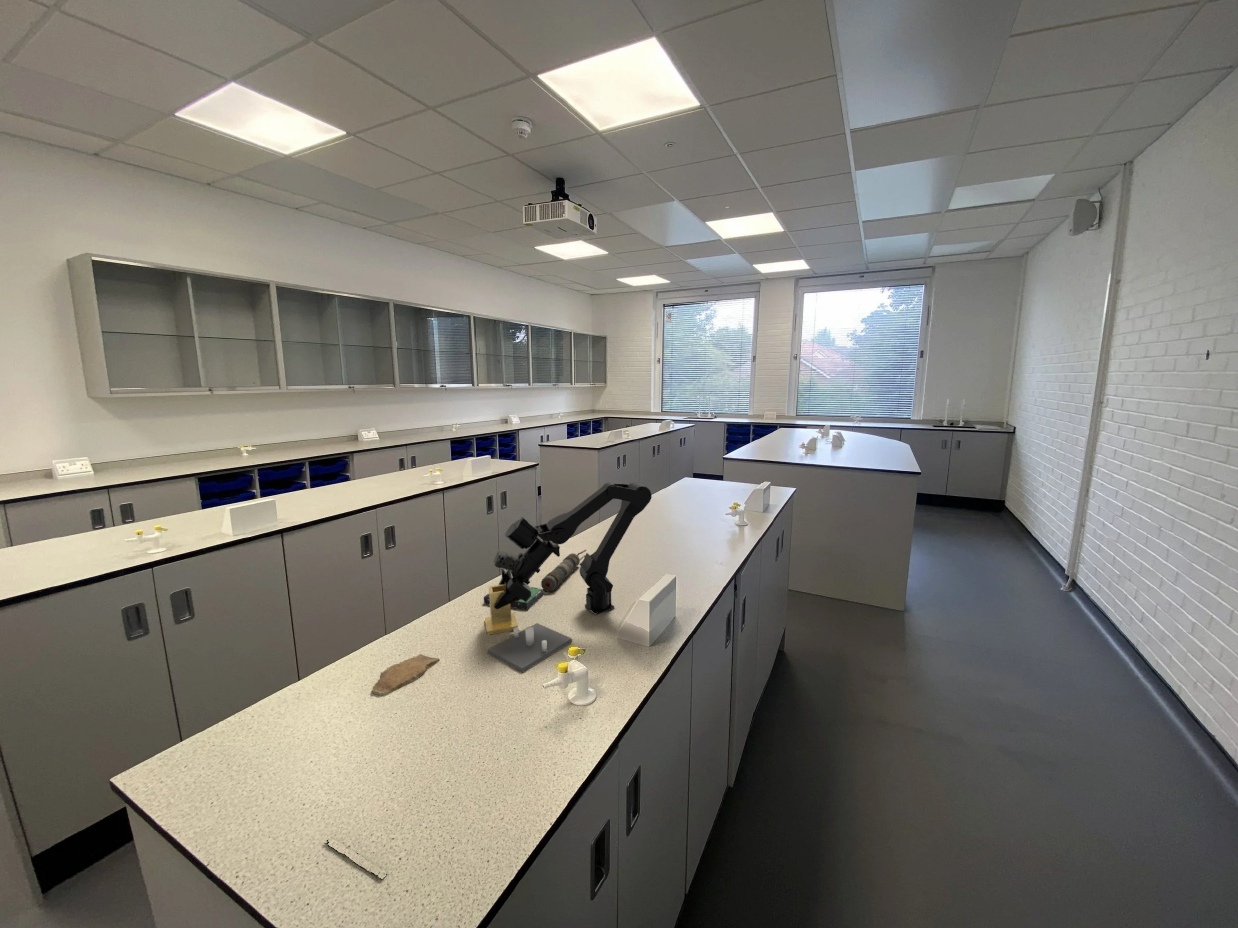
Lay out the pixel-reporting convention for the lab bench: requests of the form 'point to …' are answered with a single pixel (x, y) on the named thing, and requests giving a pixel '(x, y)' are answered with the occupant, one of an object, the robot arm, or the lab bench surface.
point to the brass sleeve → (499, 613)
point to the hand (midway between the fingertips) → (494, 603)
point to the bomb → (560, 572)
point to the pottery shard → (403, 674)
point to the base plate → (529, 646)
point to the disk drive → (521, 604)
